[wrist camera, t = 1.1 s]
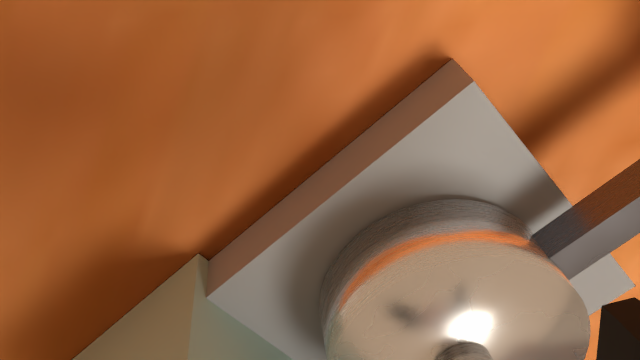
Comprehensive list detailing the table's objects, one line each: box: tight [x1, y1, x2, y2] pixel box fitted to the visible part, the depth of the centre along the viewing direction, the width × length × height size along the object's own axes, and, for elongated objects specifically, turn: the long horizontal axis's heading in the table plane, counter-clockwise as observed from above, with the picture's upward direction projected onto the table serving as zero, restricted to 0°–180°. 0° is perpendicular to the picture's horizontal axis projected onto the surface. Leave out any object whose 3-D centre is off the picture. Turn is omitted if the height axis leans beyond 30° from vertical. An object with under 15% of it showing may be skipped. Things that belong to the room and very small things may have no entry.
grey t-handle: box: [319, 159, 640, 360], centre depth 17 cm, size 16×8×4 cm, turn 132°
